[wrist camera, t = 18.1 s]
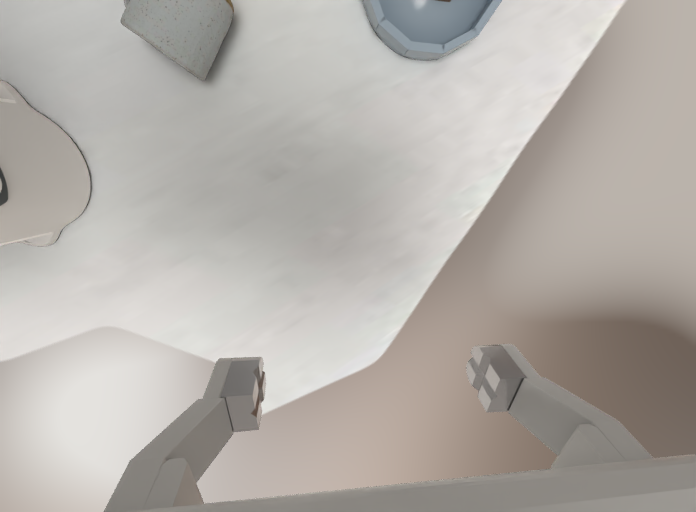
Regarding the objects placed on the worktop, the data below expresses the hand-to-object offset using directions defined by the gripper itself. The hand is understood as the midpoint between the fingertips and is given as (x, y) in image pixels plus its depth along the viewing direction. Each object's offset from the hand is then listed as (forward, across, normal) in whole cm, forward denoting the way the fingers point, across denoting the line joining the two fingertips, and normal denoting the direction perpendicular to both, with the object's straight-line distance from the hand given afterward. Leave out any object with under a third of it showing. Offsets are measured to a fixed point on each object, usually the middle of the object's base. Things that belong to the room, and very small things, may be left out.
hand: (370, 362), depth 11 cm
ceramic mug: (+34, +16, -15) cm, 40 cm away
